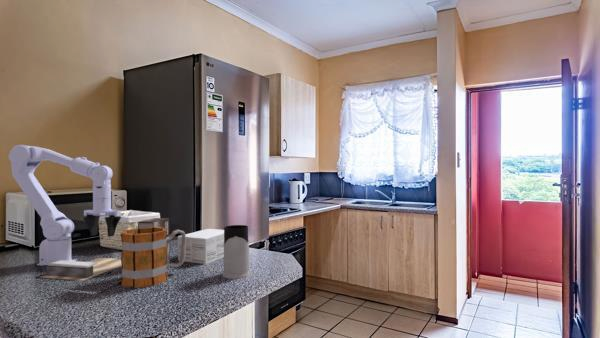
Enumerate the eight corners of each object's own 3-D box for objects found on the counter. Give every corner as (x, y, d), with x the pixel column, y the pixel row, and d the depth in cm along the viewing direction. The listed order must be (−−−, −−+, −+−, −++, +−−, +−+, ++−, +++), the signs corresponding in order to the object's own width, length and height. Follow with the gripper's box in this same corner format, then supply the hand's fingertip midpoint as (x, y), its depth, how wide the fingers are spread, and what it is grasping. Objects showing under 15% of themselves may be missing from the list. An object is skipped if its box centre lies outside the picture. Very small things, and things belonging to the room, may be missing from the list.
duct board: (39, 279, 108) (39, 267, 108) (100, 259, 131) (100, 250, 131) (82, 282, 104) (82, 270, 104) (137, 261, 128) (137, 251, 128)
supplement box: (207, 251, 144) (206, 228, 144) (233, 253, 139) (233, 230, 139) (177, 261, 129) (176, 235, 129) (205, 264, 123) (205, 238, 123)
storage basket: (96, 246, 154) (95, 213, 154) (131, 240, 168) (130, 209, 168) (126, 253, 141) (126, 216, 141) (162, 245, 154) (161, 212, 154)
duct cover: (48, 266, 110) (48, 263, 110) (60, 262, 114) (60, 260, 114) (85, 268, 107) (85, 265, 107) (96, 264, 111) (96, 262, 111)
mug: (128, 291, 96) (127, 236, 96) (114, 280, 106) (113, 230, 106) (195, 276, 109) (195, 228, 109) (177, 267, 119) (177, 223, 119)
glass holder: (221, 279, 106) (221, 229, 106) (224, 266, 120) (223, 222, 120) (250, 277, 107) (250, 228, 107) (250, 265, 121) (249, 221, 121)
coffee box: (154, 262, 127) (153, 217, 127) (170, 262, 125) (169, 218, 125) (137, 269, 118) (137, 221, 118) (154, 270, 116) (154, 221, 116)
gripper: (126, 197, 130) (127, 234, 130) (94, 197, 134) (95, 233, 134) (112, 199, 124) (112, 238, 124) (78, 199, 127) (79, 236, 127)
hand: (102, 235), depth 128 cm, fingers open, 7 cm apart
